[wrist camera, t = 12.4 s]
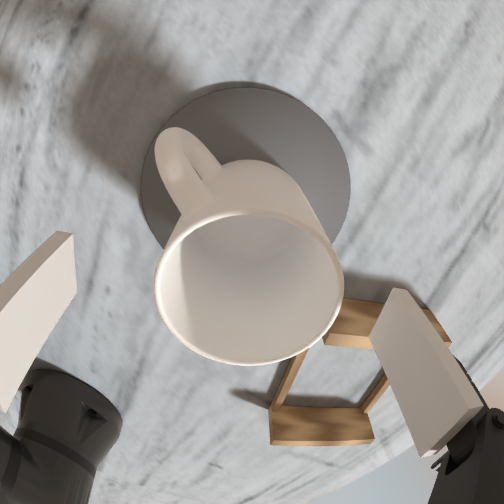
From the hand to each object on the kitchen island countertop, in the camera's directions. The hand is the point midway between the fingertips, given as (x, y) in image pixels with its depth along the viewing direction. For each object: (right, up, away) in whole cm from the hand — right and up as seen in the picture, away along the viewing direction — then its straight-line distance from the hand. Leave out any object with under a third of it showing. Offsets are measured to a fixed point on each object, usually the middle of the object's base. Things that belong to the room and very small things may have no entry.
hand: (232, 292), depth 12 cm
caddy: (+11, -11, +19) cm, 24 cm away
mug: (-1, +6, +10) cm, 12 cm away
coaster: (0, +6, +10) cm, 12 cm away
